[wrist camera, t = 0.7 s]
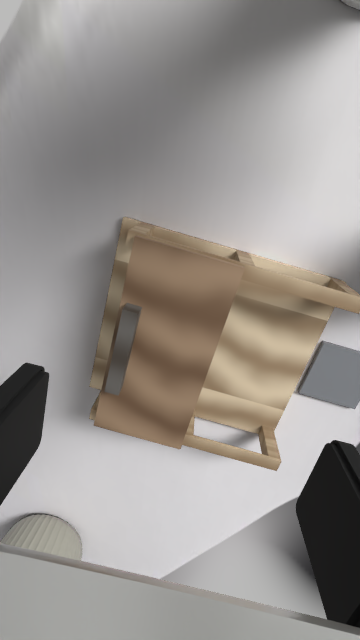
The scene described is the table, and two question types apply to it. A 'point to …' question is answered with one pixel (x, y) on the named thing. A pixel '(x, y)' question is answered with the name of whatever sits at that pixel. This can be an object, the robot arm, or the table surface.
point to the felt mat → (334, 375)
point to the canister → (45, 536)
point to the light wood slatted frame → (242, 339)
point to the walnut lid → (164, 340)
